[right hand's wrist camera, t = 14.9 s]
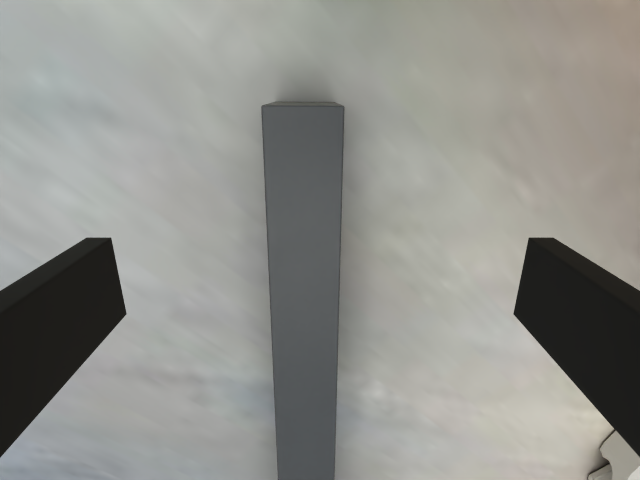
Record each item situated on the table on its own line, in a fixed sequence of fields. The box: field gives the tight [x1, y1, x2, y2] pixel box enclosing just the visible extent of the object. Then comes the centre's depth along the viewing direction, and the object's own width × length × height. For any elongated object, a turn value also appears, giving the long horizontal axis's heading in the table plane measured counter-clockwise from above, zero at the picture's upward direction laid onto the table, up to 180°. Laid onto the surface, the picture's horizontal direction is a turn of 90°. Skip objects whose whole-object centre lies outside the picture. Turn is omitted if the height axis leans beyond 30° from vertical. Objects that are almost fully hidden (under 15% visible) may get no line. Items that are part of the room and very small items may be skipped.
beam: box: [261, 102, 344, 480], centre depth 36 cm, size 51×5×9 cm, turn 0°
